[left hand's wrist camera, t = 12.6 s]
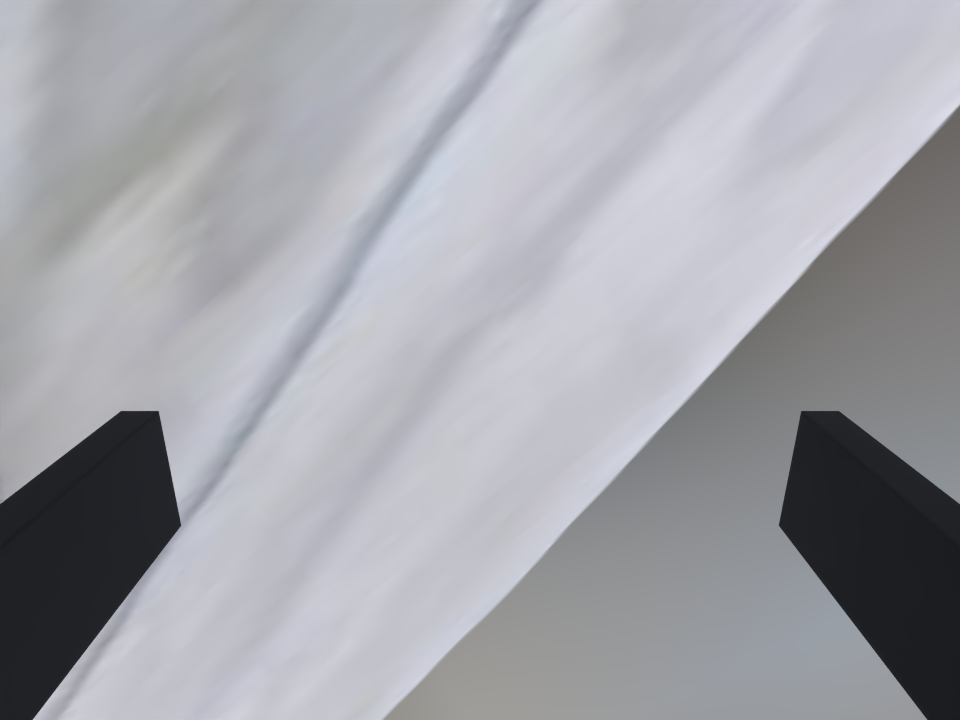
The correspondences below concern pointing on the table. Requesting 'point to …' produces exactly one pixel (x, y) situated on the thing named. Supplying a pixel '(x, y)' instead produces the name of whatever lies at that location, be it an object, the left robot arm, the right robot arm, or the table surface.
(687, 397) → the table surface
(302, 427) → the table surface
